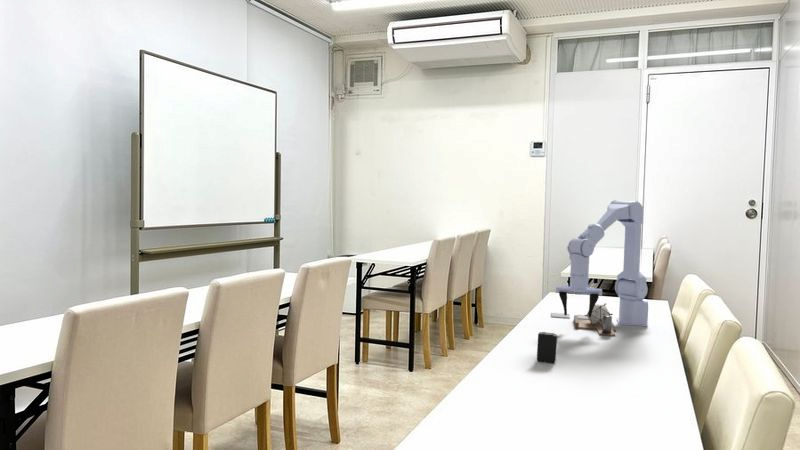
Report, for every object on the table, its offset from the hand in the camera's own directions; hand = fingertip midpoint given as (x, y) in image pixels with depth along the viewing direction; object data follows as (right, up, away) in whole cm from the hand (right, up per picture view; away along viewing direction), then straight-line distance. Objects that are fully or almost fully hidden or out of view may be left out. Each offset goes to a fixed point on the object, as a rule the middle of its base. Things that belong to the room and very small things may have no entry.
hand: (577, 315), depth 199 cm
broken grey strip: (+5, -4, +23) cm, 24 cm away
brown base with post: (+8, -5, +6) cm, 11 cm away
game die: (+10, -5, +10) cm, 15 cm away
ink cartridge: (-18, -8, -32) cm, 38 cm away
